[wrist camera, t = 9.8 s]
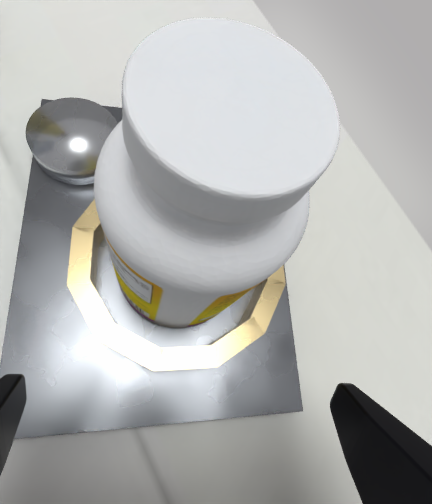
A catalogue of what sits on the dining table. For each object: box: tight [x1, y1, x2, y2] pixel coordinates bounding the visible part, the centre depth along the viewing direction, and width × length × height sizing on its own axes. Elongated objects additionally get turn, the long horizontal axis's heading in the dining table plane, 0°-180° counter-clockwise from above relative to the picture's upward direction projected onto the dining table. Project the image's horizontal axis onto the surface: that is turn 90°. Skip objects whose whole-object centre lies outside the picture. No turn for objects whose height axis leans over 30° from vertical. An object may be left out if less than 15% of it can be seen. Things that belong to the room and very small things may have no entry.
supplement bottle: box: [94, 18, 340, 328], centre depth 12 cm, size 7×7×13 cm
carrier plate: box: [0, 98, 303, 439], centre depth 18 cm, size 19×15×3 cm
